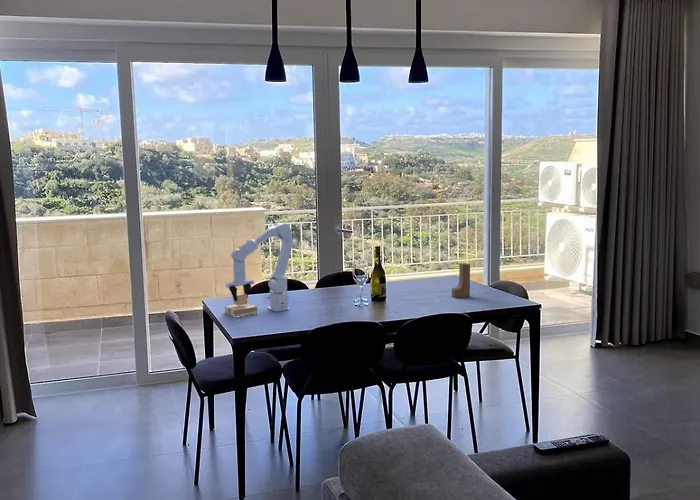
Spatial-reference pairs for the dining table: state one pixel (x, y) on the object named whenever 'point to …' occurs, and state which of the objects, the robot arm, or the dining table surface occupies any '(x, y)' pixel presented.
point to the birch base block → (240, 309)
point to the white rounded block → (285, 286)
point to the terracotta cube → (241, 299)
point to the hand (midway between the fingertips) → (240, 299)
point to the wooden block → (463, 282)
